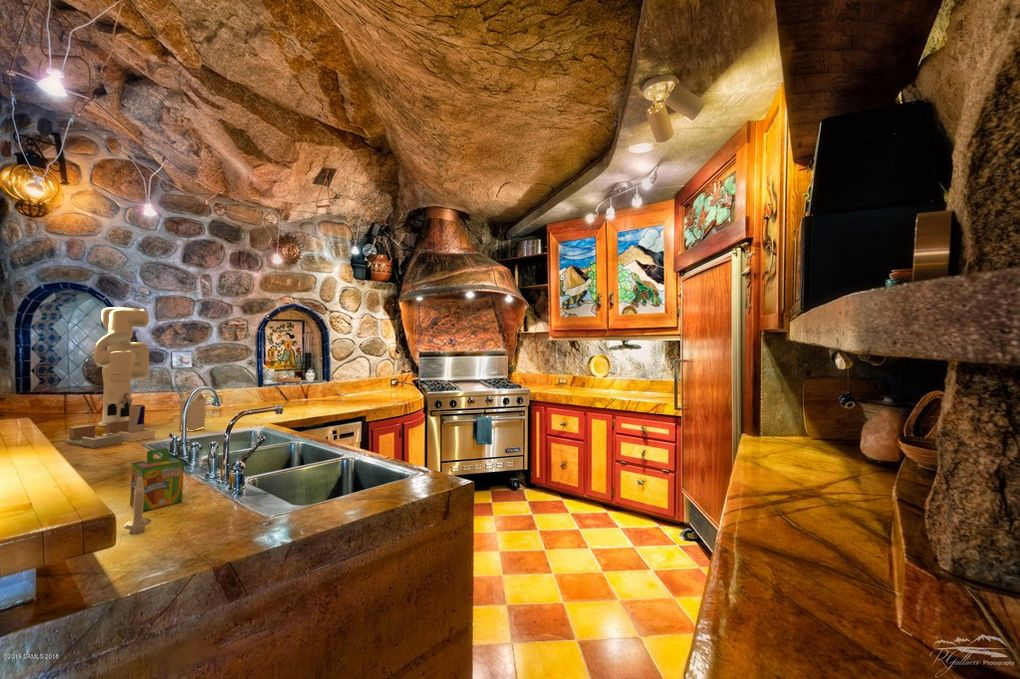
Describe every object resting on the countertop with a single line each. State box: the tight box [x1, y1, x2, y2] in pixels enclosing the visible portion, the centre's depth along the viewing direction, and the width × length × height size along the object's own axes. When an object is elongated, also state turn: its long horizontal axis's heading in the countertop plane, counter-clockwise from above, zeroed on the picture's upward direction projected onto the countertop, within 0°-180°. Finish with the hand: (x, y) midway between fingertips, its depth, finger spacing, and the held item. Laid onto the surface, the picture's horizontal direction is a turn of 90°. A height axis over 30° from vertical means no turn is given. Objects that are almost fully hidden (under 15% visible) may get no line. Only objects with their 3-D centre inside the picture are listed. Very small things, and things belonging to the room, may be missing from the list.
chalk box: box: [129, 447, 185, 512], centre depth 113 cm, size 9×9×15 cm
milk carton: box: [178, 390, 207, 432], centre depth 202 cm, size 7×7×19 cm
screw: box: [123, 477, 152, 535], centre depth 96 cm, size 13×5×5 cm
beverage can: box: [128, 404, 146, 433], centre depth 181 cm, size 5×5×15 cm
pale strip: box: [101, 420, 156, 443], centre depth 183 cm, size 20×9×6 cm, turn 70°
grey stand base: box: [65, 424, 123, 449], centre depth 172 cm, size 20×9×6 cm, turn 70°
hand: (118, 415), depth 185 cm, fingers open, 9 cm apart
